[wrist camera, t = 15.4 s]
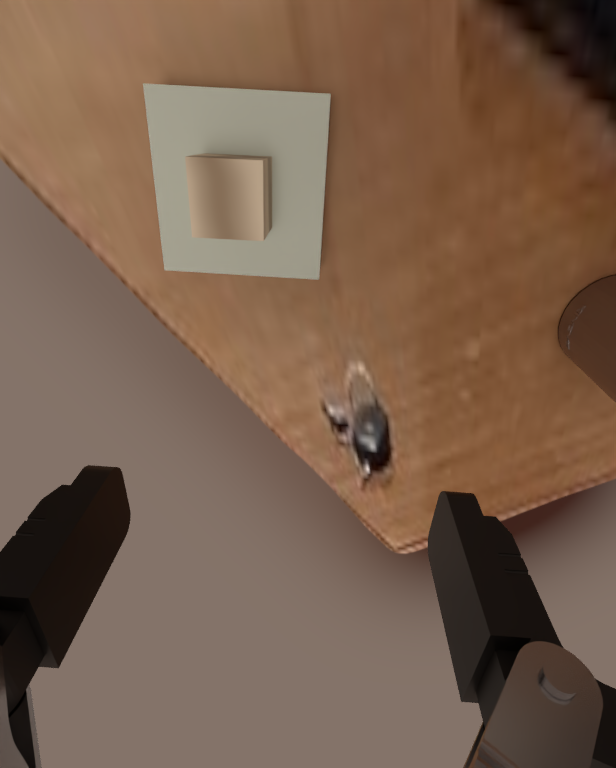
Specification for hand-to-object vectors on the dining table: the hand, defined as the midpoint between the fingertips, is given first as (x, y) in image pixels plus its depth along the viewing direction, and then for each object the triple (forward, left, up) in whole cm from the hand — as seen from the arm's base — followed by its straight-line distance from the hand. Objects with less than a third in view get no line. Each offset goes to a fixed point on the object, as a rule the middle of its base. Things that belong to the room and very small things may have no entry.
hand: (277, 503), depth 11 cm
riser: (+6, -4, -32) cm, 33 cm away
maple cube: (+6, -4, -28) cm, 29 cm away
